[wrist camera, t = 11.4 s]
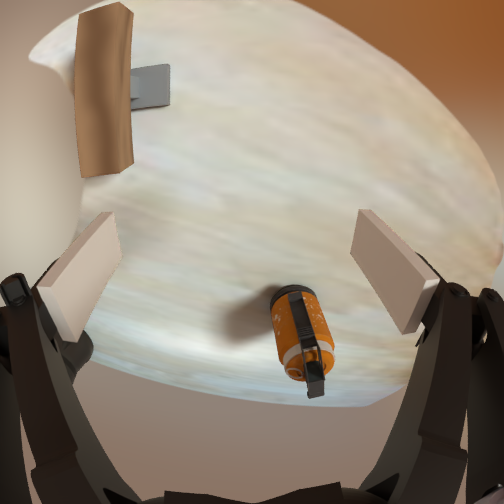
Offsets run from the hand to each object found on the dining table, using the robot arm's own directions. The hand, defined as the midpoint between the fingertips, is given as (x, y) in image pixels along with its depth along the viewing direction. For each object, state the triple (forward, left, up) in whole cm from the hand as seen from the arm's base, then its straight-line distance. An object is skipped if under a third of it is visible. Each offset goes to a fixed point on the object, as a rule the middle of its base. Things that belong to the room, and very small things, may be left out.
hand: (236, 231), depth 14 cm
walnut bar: (-15, +10, -20) cm, 27 cm away
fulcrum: (-15, +10, -27) cm, 32 cm away
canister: (+11, -27, -27) cm, 39 cm away
